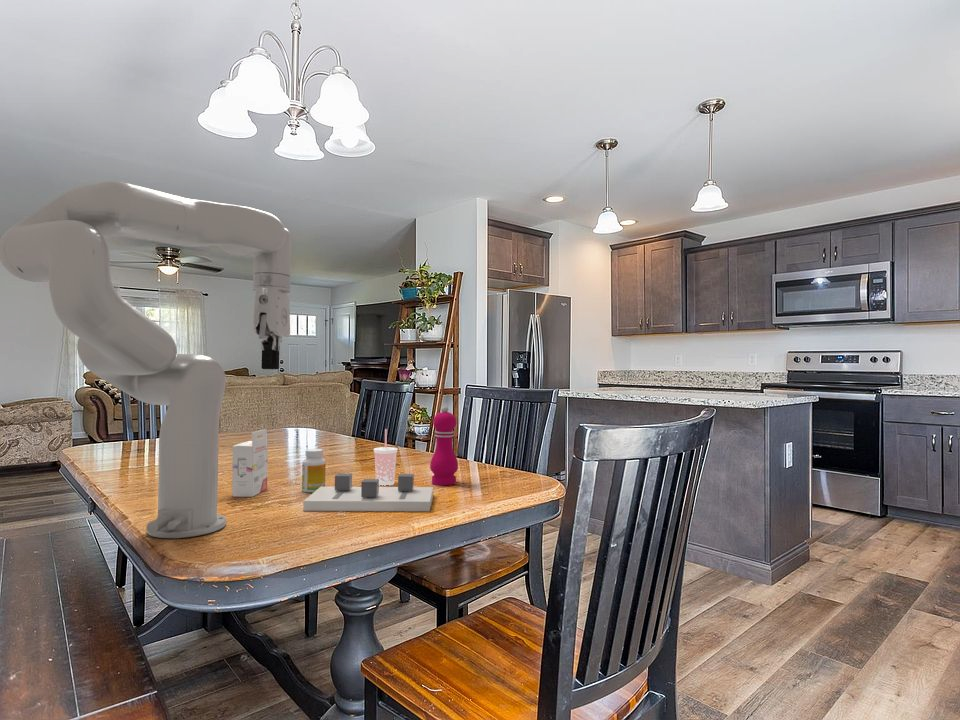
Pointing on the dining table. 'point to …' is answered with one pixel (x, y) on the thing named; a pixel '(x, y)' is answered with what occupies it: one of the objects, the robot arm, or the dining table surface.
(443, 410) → the pepper mill
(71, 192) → the robot arm
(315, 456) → the supplement bottle
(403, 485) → the dark gray cube
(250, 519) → the dining table surface
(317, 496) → the switch panel
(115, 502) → the dining table surface
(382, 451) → the beverage cup
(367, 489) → the dark grey cube
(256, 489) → the ink cartridge box
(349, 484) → the dark grey cube
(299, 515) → the dining table surface
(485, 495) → the dining table surface
